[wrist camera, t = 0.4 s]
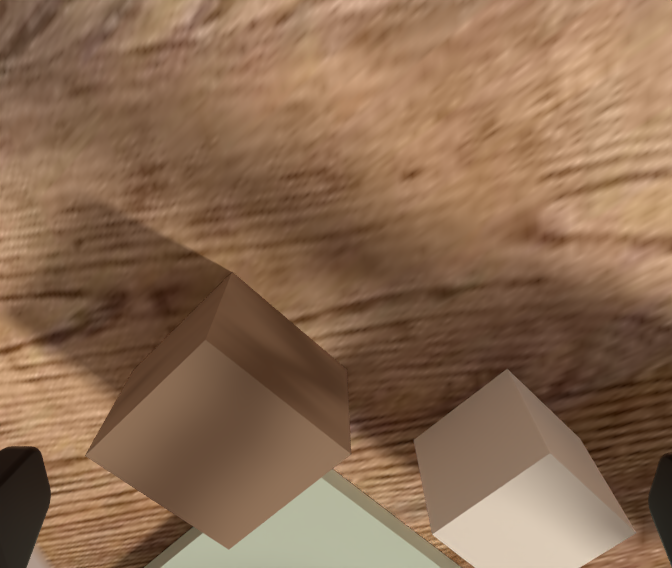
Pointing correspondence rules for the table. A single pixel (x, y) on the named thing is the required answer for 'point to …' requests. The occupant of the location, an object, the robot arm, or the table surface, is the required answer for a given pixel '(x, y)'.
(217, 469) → the walnut block
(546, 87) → the table surface
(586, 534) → the cream block
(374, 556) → the baseplate
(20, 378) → the table surface
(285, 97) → the table surface
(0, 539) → the robot arm
